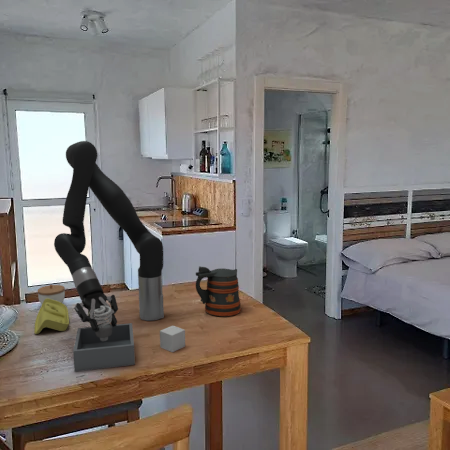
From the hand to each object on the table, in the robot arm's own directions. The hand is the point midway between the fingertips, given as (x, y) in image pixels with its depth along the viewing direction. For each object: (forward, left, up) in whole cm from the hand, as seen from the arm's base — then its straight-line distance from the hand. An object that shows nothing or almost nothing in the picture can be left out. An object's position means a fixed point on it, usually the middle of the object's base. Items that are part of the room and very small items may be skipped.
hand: (106, 327), depth 145 cm
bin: (+1, -1, -10) cm, 10 cm away
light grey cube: (-21, -2, -10) cm, 24 cm away
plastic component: (+21, -33, -10) cm, 40 cm away
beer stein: (-43, -30, -10) cm, 54 cm away
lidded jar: (+24, -53, -10) cm, 59 cm away
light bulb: (+1, -2, -5) cm, 6 cm away
